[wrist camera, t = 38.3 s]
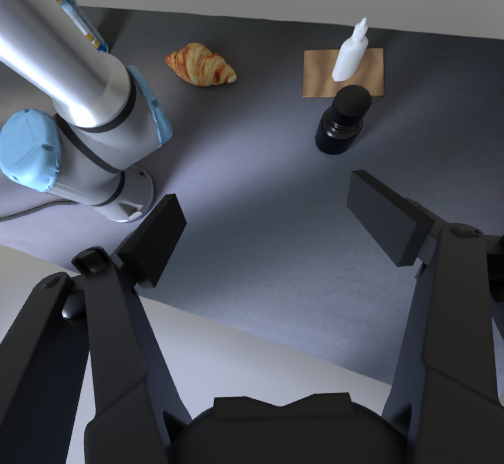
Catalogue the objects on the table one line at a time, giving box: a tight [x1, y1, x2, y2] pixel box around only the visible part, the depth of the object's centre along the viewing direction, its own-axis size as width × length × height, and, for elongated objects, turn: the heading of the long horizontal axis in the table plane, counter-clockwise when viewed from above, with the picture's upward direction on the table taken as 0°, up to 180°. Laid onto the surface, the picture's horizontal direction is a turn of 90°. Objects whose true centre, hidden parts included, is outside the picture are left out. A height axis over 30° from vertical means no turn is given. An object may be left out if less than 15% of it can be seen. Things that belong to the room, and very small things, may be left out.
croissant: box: [165, 43, 237, 87], centre depth 52 cm, size 21×10×8 cm, turn 71°
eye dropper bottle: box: [332, 17, 368, 81], centre depth 44 cm, size 4×6×12 cm
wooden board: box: [302, 48, 384, 97], centre depth 50 cm, size 20×14×1 cm
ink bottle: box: [315, 85, 372, 155], centre depth 42 cm, size 10×9×12 cm
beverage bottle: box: [56, 0, 109, 53], centre depth 50 cm, size 8×8×20 cm
